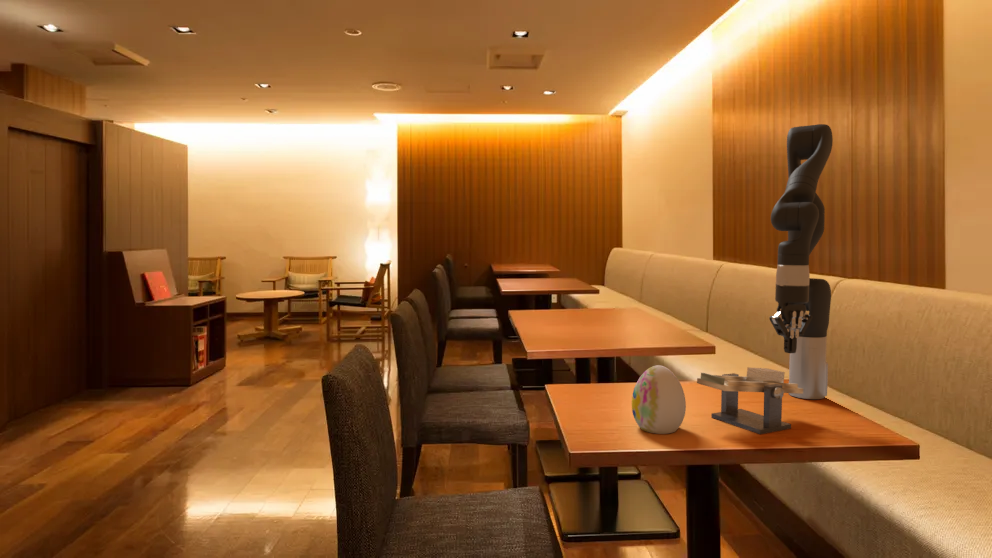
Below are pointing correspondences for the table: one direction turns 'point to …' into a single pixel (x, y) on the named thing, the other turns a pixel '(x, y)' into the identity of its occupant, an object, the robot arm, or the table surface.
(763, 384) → the beam
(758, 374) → the rider
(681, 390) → the decorative egg
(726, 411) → the stand
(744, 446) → the table surface
